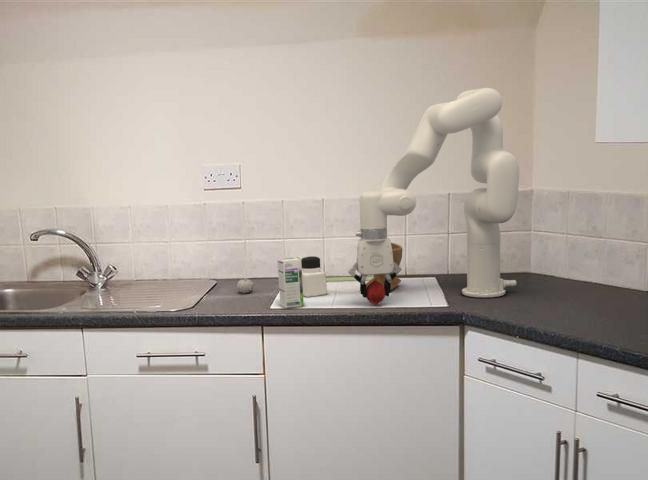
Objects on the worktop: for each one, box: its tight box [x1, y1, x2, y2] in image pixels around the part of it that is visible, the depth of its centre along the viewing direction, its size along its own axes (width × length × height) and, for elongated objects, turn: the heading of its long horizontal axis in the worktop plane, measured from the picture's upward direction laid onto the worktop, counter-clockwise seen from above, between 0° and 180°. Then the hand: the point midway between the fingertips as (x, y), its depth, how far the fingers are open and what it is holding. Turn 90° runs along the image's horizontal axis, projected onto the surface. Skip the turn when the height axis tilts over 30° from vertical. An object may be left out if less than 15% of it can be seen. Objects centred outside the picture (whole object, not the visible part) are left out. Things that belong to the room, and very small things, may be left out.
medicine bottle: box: [300, 255, 328, 298], centre depth 242 cm, size 7×7×12 cm
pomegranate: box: [365, 278, 386, 306], centre depth 221 cm, size 6×6×8 cm
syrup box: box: [277, 256, 305, 309], centre depth 226 cm, size 6×6×14 cm
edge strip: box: [326, 275, 374, 282], centre depth 264 cm, size 20×6×1 cm, turn 81°
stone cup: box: [365, 242, 403, 291], centre depth 243 cm, size 15×12×15 cm
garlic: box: [236, 277, 254, 295], centre depth 250 cm, size 6×5×5 cm
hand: (375, 295), depth 221 cm, fingers closed on pomegranate, 5 cm apart
